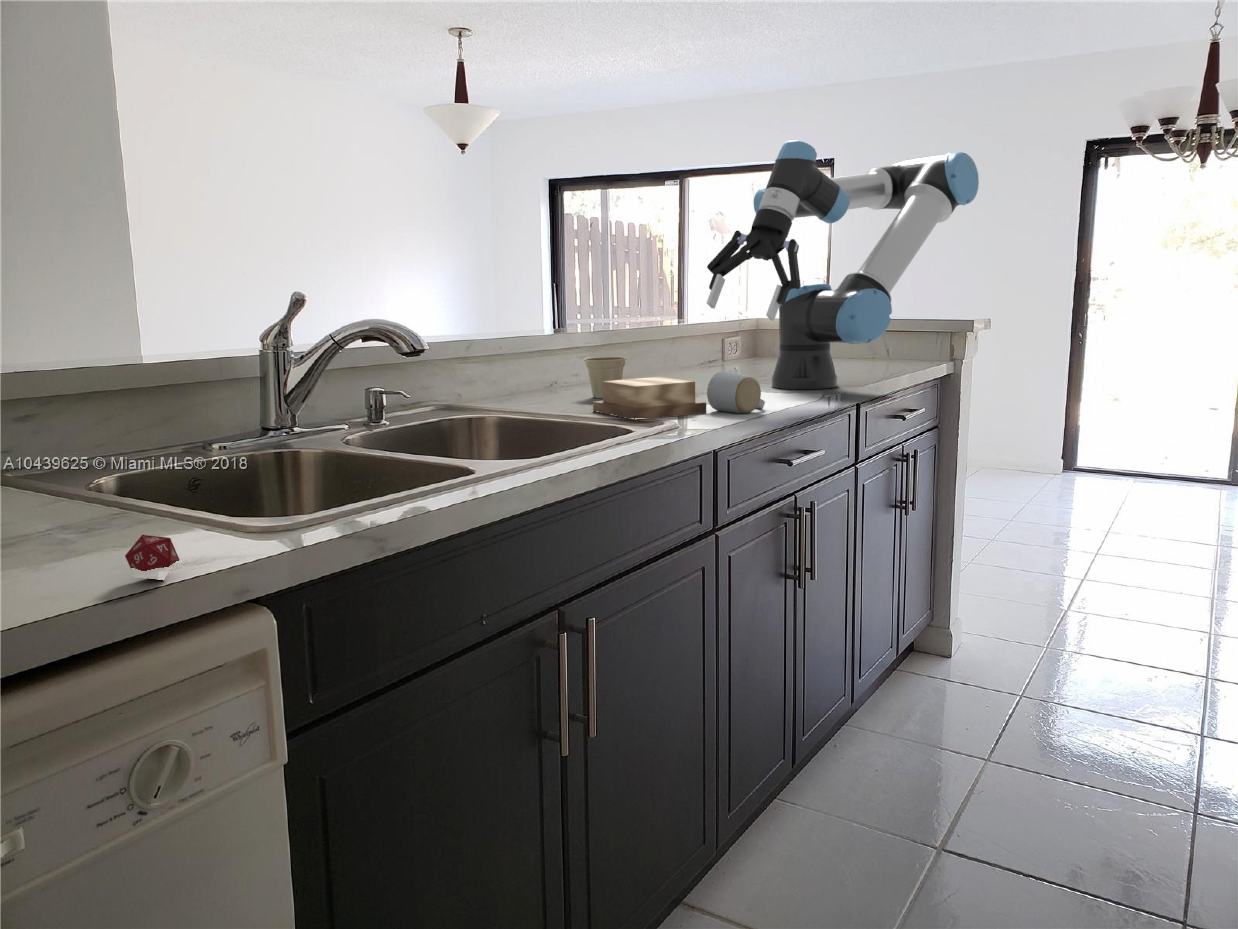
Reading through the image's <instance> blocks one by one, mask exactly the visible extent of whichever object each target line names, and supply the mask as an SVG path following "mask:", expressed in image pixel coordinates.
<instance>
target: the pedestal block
mask: <svg viewBox="0 0 1238 929" xmlns="http://www.w3.org/2000/svg"><path fill="white" fill-rule="evenodd" d="M602 399H603V400H602V401H603V402H608V403H613V404H618V405H624V406H629V407H634V408H643V407H653V406H663V405H673V404H683V403H693V402H695V401H696V381H694V380H687V379H686V380H685V379H678V378H671V377H665V376H664V377H663V376H654V377H653V376H652V377H641V378H639V377H638V378H628V379H622V380H613V381H603V398H602Z"/></svg>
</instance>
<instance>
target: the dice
mask: <svg viewBox="0 0 1238 929" xmlns="http://www.w3.org/2000/svg"><path fill="white" fill-rule="evenodd" d="M124 557H125V559H126V561H127V564H128V565H129V568H130V569H131V568H135V569H138V570H141V571H147V570H151V569H155V568H164V567H169V566H170V565H172V564H173V563H175V562H176V561H179V560H180V557H179V555H178V553H177V551H176V547H175V546H174V543H173V541H172V539H171V537H168V536H167V537H165V536H157V535H156V536H155V535H146V534H141V536H140V537H139V538H138V539H137V540H136V541H135V543H134V544H133V545H132V547H131V548H130V549H129V550H128V551H127V553H126V554H125V555H124ZM179 562H180V561H179Z"/></svg>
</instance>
